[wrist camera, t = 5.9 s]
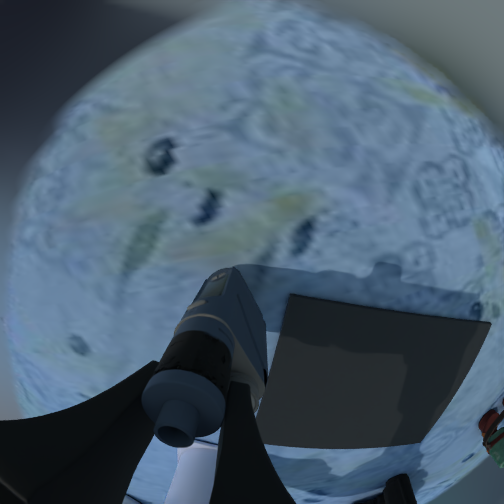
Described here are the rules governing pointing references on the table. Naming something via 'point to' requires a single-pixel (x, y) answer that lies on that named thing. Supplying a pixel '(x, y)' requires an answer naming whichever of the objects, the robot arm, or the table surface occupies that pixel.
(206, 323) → the vaping device
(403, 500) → the film camera
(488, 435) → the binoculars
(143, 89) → the table surface
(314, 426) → the mat
